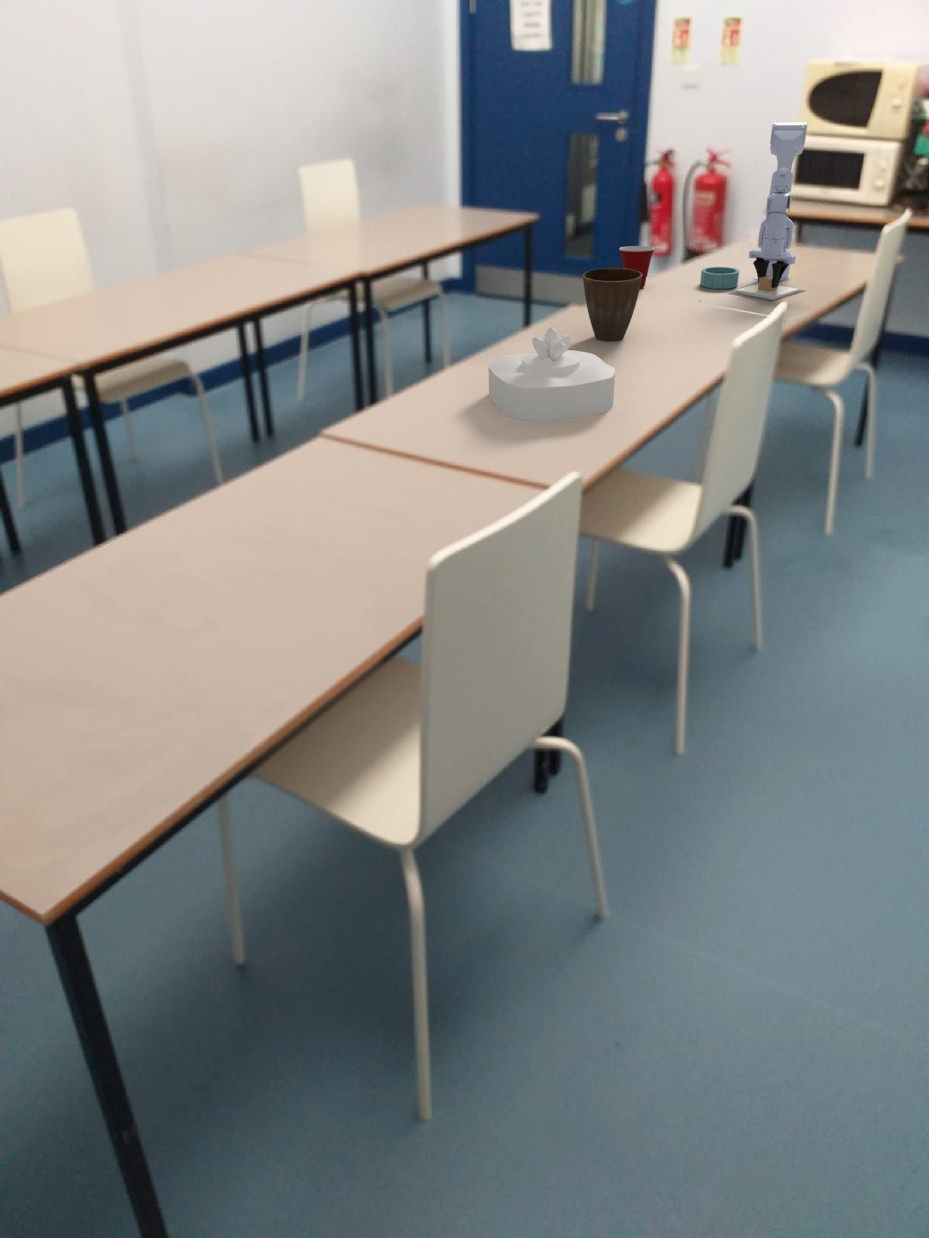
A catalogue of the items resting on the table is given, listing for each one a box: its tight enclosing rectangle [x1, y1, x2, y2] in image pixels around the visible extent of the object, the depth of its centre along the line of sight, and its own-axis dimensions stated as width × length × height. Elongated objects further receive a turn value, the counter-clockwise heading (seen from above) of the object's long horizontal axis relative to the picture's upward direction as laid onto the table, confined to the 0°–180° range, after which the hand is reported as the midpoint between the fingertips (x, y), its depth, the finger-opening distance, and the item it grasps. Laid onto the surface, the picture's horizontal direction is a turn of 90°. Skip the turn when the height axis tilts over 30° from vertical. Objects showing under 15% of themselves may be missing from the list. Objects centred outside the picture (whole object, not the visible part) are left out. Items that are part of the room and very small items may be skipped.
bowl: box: [699, 266, 740, 290], centre depth 297 cm, size 11×11×5 cm
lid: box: [735, 275, 800, 300], centre depth 287 cm, size 13×13×4 cm
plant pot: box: [582, 267, 642, 342], centre depth 249 cm, size 15×15×16 cm
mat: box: [728, 289, 806, 303], centre depth 288 cm, size 18×15×1 cm
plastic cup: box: [619, 245, 656, 290], centre depth 298 cm, size 11×11×12 cm
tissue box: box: [488, 326, 616, 423], centre depth 209 cm, size 25×25×16 cm
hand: (768, 286), depth 287 cm, fingers closed on lid, 4 cm apart
